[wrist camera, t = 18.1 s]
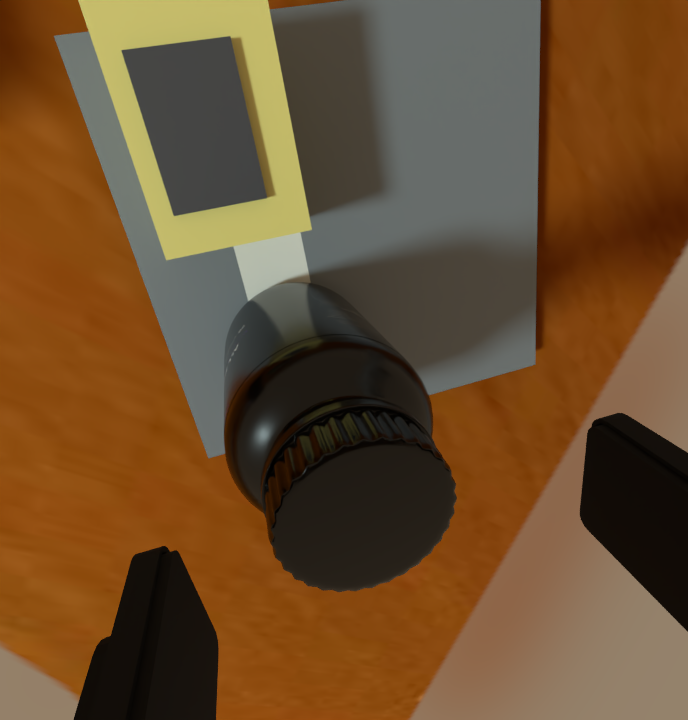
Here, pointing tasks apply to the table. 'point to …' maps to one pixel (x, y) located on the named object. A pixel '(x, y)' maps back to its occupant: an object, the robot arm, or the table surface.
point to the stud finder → (202, 118)
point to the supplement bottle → (332, 440)
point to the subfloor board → (371, 190)
